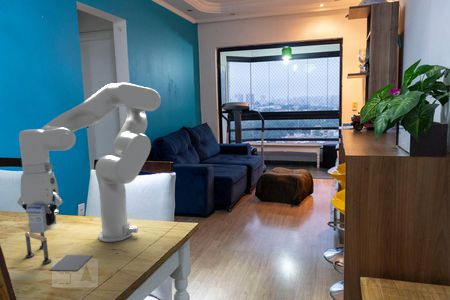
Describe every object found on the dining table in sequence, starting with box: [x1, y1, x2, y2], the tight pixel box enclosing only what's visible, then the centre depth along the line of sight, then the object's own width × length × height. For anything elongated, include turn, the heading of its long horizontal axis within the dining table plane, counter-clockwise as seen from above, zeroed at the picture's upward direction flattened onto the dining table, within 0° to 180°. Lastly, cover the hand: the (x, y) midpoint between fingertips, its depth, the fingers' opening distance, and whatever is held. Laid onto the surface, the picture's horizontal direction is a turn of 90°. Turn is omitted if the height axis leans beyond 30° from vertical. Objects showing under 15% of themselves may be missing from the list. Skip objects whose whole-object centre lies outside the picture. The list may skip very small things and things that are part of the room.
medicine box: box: [27, 204, 56, 234], centre depth 107 cm, size 8×4×9 cm, turn 4°
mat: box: [49, 254, 93, 272], centre depth 108 cm, size 9×10×1 cm
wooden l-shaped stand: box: [24, 230, 52, 265], centre depth 114 cm, size 11×13×9 cm
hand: (42, 223), depth 108 cm, fingers closed on medicine box, 4 cm apart
